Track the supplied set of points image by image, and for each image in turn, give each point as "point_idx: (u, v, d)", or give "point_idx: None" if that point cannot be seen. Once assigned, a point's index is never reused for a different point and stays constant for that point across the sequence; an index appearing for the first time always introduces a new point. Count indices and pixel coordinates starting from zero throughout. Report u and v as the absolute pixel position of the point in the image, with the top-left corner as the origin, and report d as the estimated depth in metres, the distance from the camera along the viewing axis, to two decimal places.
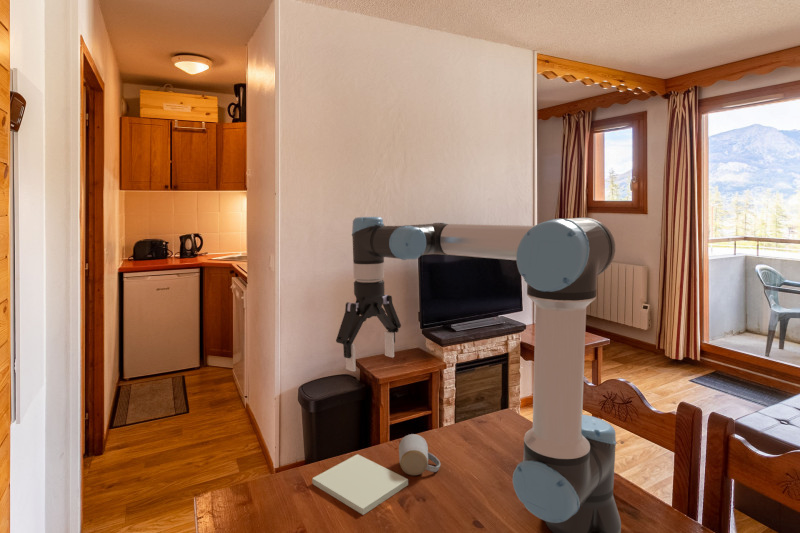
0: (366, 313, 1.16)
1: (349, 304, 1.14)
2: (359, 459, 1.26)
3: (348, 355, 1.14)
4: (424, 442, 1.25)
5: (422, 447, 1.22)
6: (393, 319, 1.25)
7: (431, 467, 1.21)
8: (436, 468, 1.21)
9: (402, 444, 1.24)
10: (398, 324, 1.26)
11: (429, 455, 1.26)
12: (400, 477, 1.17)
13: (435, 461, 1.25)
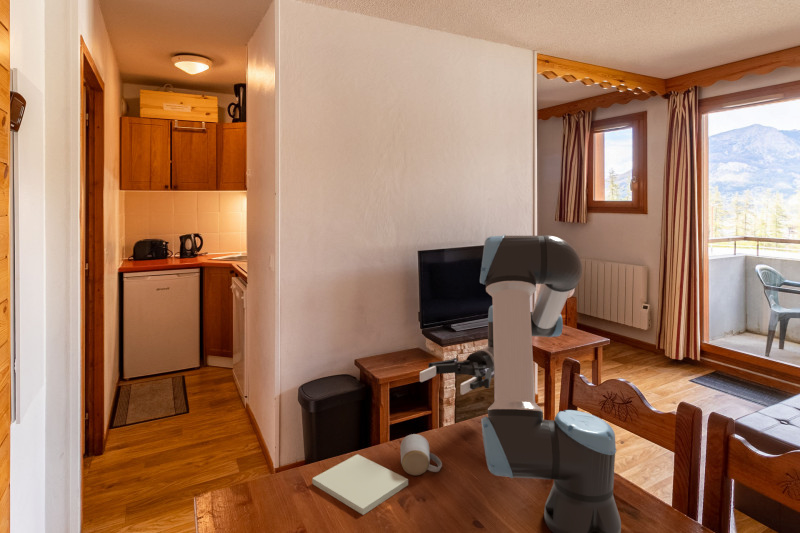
0: (460, 361, 1.40)
1: None
2: (359, 459, 1.26)
3: None
4: (426, 441, 1.25)
5: (424, 447, 1.22)
6: None
7: (432, 467, 1.21)
8: (438, 468, 1.21)
9: (404, 444, 1.24)
10: (486, 377, 1.28)
11: (431, 455, 1.26)
12: (400, 477, 1.17)
13: (436, 461, 1.25)
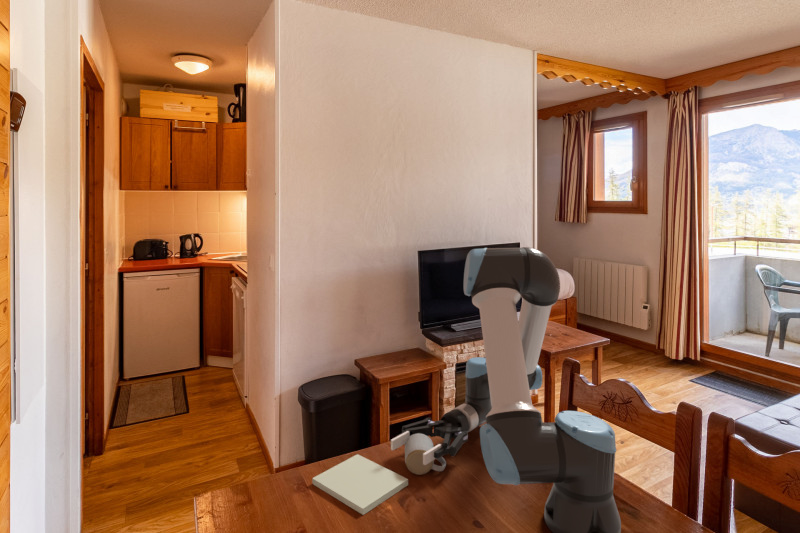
0: (434, 423, 1.32)
1: None
2: (359, 459, 1.26)
3: (399, 435, 1.27)
4: (430, 441, 1.25)
5: (428, 446, 1.22)
6: None
7: (436, 466, 1.21)
8: (442, 467, 1.21)
9: (408, 443, 1.24)
10: (452, 445, 1.21)
11: None
12: (400, 477, 1.17)
13: (441, 460, 1.25)
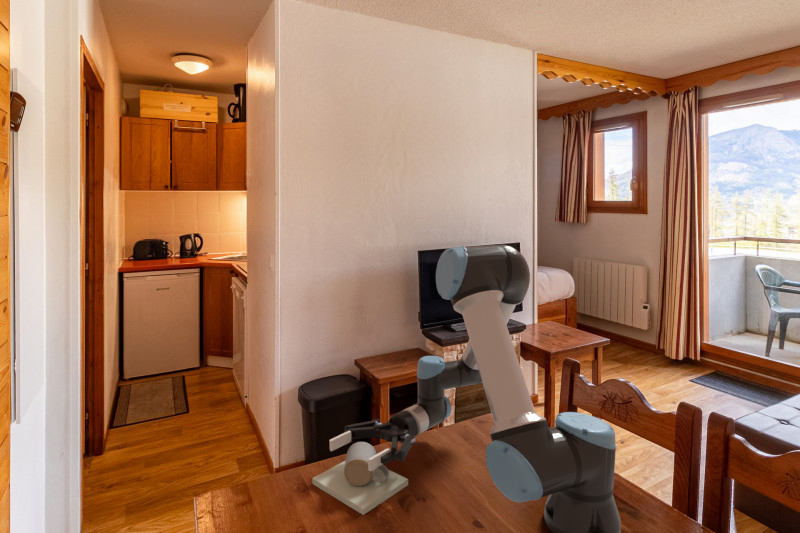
0: (380, 424, 1.25)
1: None
2: None
3: None
4: (373, 450, 1.18)
5: (369, 455, 1.15)
6: None
7: (377, 477, 1.14)
8: (383, 478, 1.14)
9: (349, 452, 1.17)
10: (401, 449, 1.13)
11: None
12: (400, 477, 1.17)
13: (384, 471, 1.18)
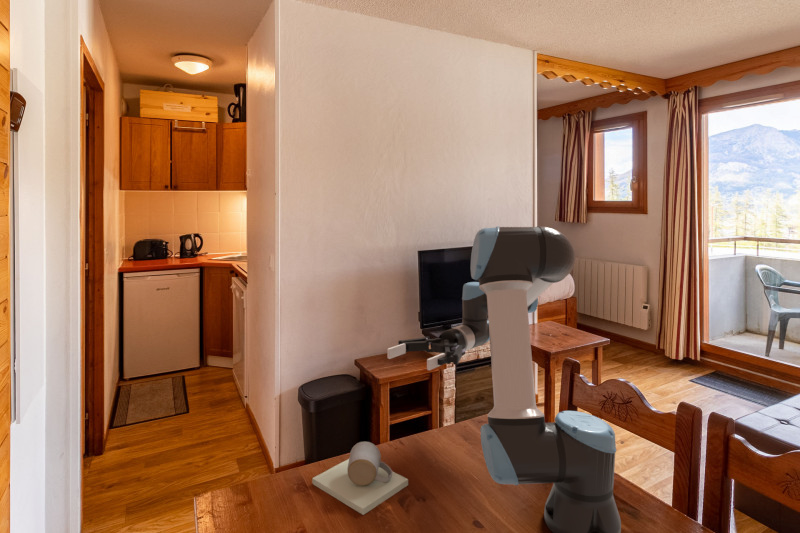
0: (431, 339, 1.35)
1: None
2: None
3: None
4: (376, 450, 1.18)
5: (372, 455, 1.15)
6: None
7: (380, 477, 1.14)
8: (386, 478, 1.14)
9: (352, 452, 1.17)
10: (455, 354, 1.23)
11: (382, 464, 1.19)
12: (400, 477, 1.17)
13: (387, 471, 1.18)
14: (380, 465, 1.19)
